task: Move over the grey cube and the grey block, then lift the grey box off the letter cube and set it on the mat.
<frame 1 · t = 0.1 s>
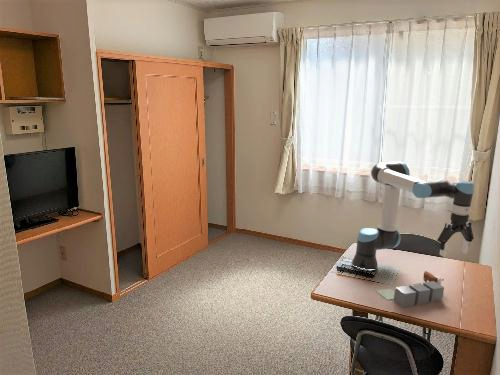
hand: (453, 254, 189), 28 cm above the table, fingers open, 13 cm apart
mat: (388, 294, 204), on the table
grey block: (403, 302, 196), on the table
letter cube: (418, 296, 199), in the grey box
grey box: (417, 300, 199), on the table
bull figurine: (431, 287, 213), on the table
grey cube: (431, 297, 202), on the table
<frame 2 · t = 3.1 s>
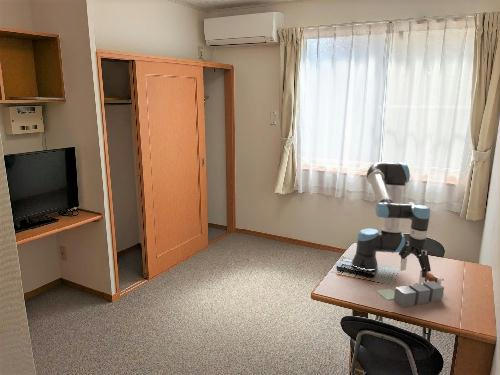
hand: (411, 276, 194), 15 cm above the table, fingers open, 13 cm apart
nothing on the table moved.
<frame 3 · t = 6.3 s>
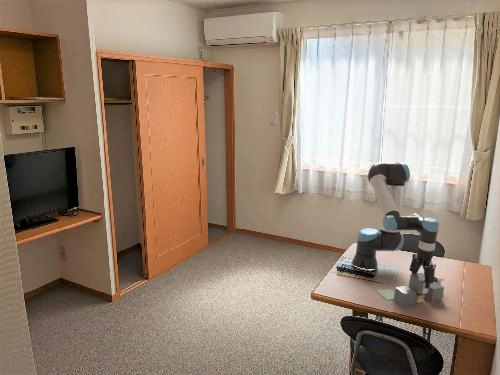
hand: (418, 289, 198), 6 cm above the table, fingers closed on grey box, 7 cm apart
grey box: (418, 289, 198), point 6 cm above the table, touching gripper
everything else where it was.
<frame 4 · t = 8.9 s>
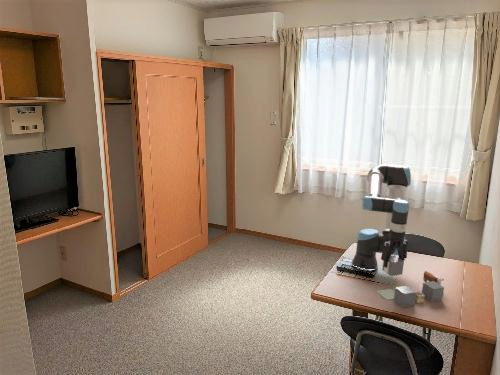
hand: (392, 271, 200), 13 cm above the table, fingers closed on grey box, 7 cm apart
grey box: (392, 272, 200), point 13 cm above the table, touching gripper
everything else where it was.
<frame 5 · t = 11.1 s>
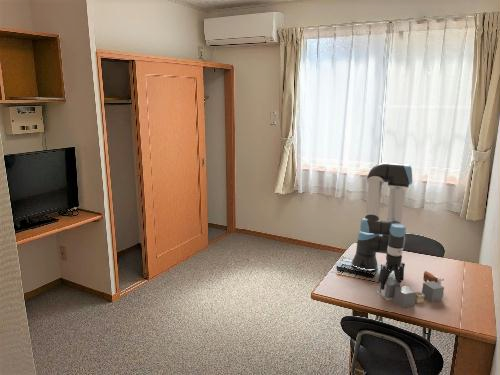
hand: (389, 293, 204), 1 cm above the table, fingers closed on grey box, 7 cm apart
grey box: (389, 294, 204), resting on mat, touching gripper
everything else where it was.
when the fingers open (1 cm above the table, at t = 11.5 s): grey box stays where it is, resting on mat.
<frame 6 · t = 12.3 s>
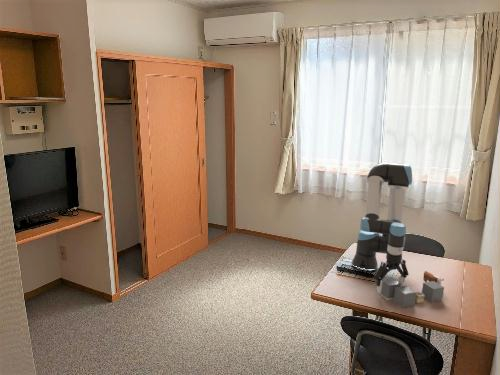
hand: (389, 289, 204), 3 cm above the table, fingers open, 13 cm apart
grey box: (389, 294, 204), resting on mat
everything else where it was.
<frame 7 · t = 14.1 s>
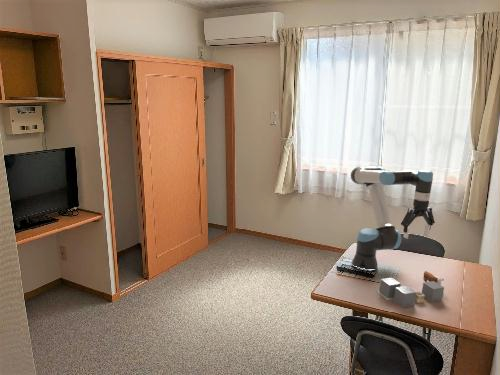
hand: (415, 236, 209), 28 cm above the table, fingers open, 13 cm apart
nothing on the table moved.
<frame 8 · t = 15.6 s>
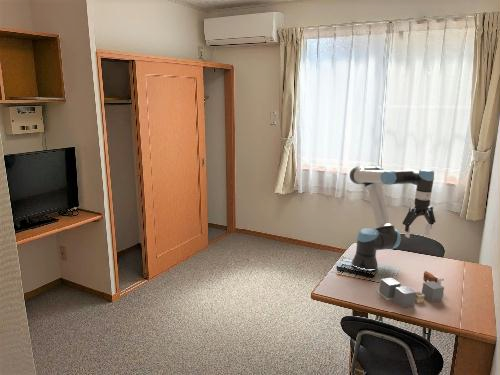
hand: (417, 235, 210), 29 cm above the table, fingers open, 13 cm apart
nothing on the table moved.
at the end: grey box inside the target area (0.1 cm from its centre), resting on mat; grey box moved 14.2 cm from its start; grey box tilted 0° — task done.
